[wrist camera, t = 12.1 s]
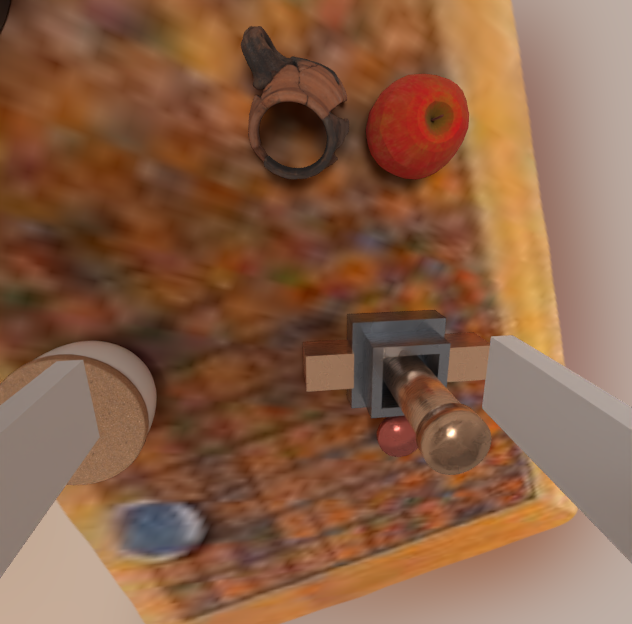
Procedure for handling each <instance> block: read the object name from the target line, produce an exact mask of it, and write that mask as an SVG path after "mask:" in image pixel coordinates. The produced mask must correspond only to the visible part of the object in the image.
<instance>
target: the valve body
mask: <svg viewBox="0 0 632 624" xmlns="http://www.w3.org/2000/svg"><path fill="white" fill-rule="evenodd" d="M445 324H446V318H445V317H444V316H442V315H441V314H440V313H438V312H437V311H436V310H422V311H402V312H382V313H361V314H347V340H329V341H311V342H303V362H304V378H305V384H306V390H307V392H308V391H323V390H338V389H347V397H348V400H349V402H350V405H351V408H362V407H367V409H368V412H369V414H370V416H371V418H379V417H387V418H386V419H384V420H383V421H382V422H381V424H380V425H379V427H378V430H377V440H378V443H379V445H380V447H381V449H382V450H383V451H384V452H385V453H386V454H388V455H391V456H395V457H401V456H406V455H408V454H410V453H412V452H414V451H415V450H416V449H417V448H418V446H417V443H416V433H415V432H414V430H413V428H412V427H411V425H410V423H409V422H408V420H407V418H406V417H405V415H404V413H403V412H402V410H401V409H400V407H399V405H398V404H397V402H396V400H395V399H394V397H393V395H392V394H391V392H390V390H389V389H388V387H387V385H386V384H385V382H384V380H383V379H382V378H383V357H393V356H410V355H417V356H418V357H419V358H420V359H421V360H422V361H423V362H424V364H425V365H426V366H427V367H428V368H429V369H430V370H431V371H432V373H433V374H434V375H435V376H436V377H437V378H438V379H439V380H440V381H441V383H442V384H443V385H444V386H445V387H447V382H456V381H470V380H485V379H486V373H487V365H488V357H489V349H490V343H488V342H487V341H486V340H484V339H483V338H481V337H480V336H478V335H477V334H476V333H456V334H445Z"/></svg>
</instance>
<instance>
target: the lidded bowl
mask: <svg viewBox="0 0 632 624" xmlns="http://www.w3.org/2000/svg"><path fill="white" fill-rule="evenodd" d="M70 360H83V361H84V366H85V371H86V375H87V380H88V385H89V389H90V394H91V399H92V403H93V408H94V412H95V417H96V422H97V426H98V431H99V436H100V437H99V439H98V440H97V442H96V443H95V444H94V446H93V447H92V449H91V450H90V452H89V453H88V454H87V456H86V457H85V459H84V460H83V462H82V463H81V464H80V466H79V467H78V469H77V470H76V471H75V473H74V474H73V476H72V477H71V479H70V480H69V481H68V483H67V484H66V485H87V484H92V483H97V482H101V481H104V480H107V479H109V478H112V477H114V476H116V475H118V474H119V473H121V472H122V471H124V470H125V469H126V468H127V467H128V466H130V465H131V464H132V463H133V461H134V460H135V459H136V458H137V456H138V455H139V453H140V451H141V449H142V447H143V445H144V443H145V441H146V437H147V434H148V432H149V430H150V427H151V425H152V422H153V418H154V415H155V411H156V401H157V394H156V387H155V383H154V379H153V377H152V375H151V373H150V371H149V369H148V368H147V366H146V365H145V364H144V363H143V361H142V360H141V359H140V358H139V357H137V356H136V355H135V354H134V353H132V352H131V351H129V350H127V349H126V348H123V347H121V346H119V345H116V344H113V343H109V342H103V341H80V342H74V343H71V344H67V345H64V346H60V347H58V348H56V349H53V350H51V351H49V352H47V353H45V354H43V355H41V356H39V357H38V358H36V359H35V360H33V361H31V362H29V363H27V364H25V365H23V366H21V367H20V368H19V369H17V370H16V371H14V372H13V373H11V374H10V375H9V376H8V377H7V378H6V379H5V380H4V381H3V382H2V383H1V384H0V405H2V404H3V403H4V402H5V401H7V400H8V399H9V398H10V397H12V396H13V395H14V394H16V393H17V392H18V391H19V390H21V389H22V388H23V387H24V386H26V385H27V384H28V383H30V382H31V381H32V380H33V379H35V378H36V377H37V376H38V375H40V374H41V373H42V372H44V371H45V370H46V369H47V368H49V367H50V366H51V365H52V364H54V363H55V362H56V361H70Z"/></svg>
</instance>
